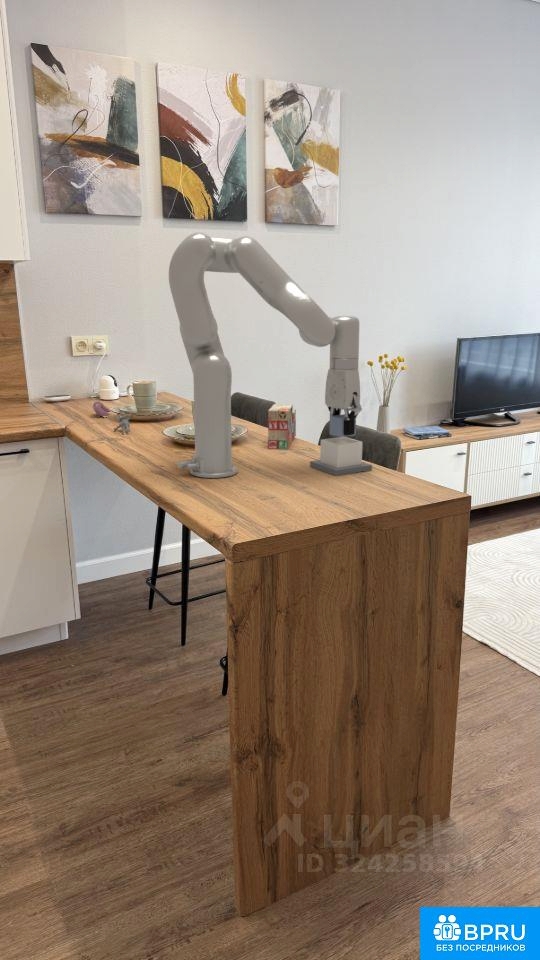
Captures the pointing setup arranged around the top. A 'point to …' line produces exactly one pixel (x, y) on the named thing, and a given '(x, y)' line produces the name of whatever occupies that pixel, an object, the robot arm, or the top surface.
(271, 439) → the stack of blocks
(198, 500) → the top surface
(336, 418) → the top brick
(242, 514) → the top surface
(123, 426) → the elephant figurine
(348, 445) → the tower base
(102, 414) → the purple rounded piece
